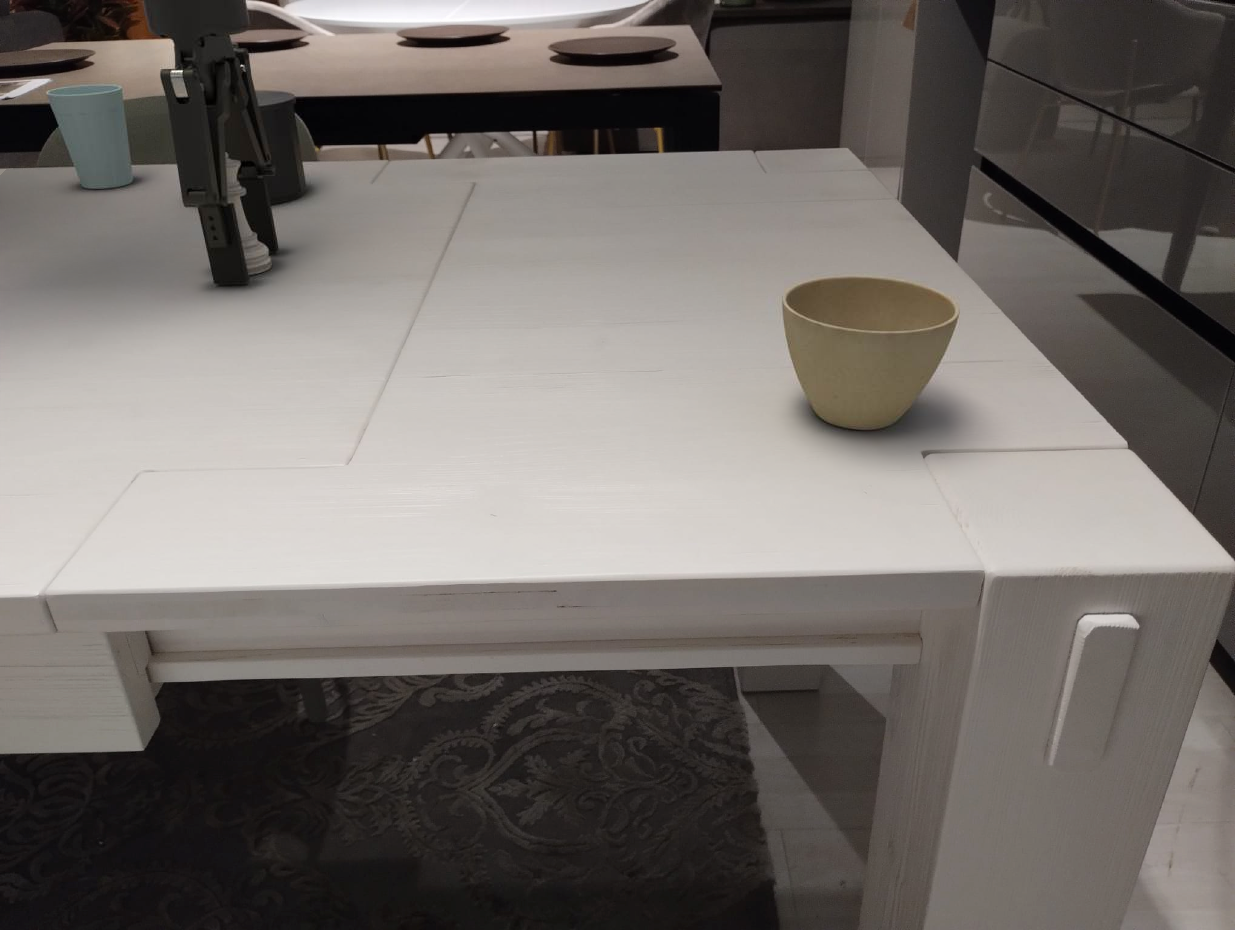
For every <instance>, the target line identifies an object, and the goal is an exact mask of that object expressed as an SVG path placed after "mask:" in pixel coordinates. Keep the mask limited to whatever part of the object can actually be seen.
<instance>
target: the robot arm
mask: <svg viewBox="0 0 1235 930" xmlns="http://www.w3.org/2000/svg"><path fill="white" fill-rule="evenodd" d="M141 1H142V6H143V10H144V15H145V19H146V23H147V28H148V31H149V33H150V34H151V35H153V36H154V37H158V38H163V39H165V38H169V39H170V40H172V42H173V52H174V68H161V69H160V72H159V78H160V82H161V85H162V89H163V93H164V95H165V99H166V102H167V108H168V115H169V122H170V128H171V135H172V141H173V142H172V143H173V147H174V154H175V161H176V167H177V168H176V169H177V174H178V180H179V187H180V195H181V199H182V204H183V207H185V208H197V212H198V216H199V221H200V224H201V231H202V234H203V238H204V239H203V240H204V244H205V249H206V252H207V257H208V262H209V265H210V270H211V276H212V280H213V284H214V285H233V284H237V285H238V284H248V283H249V282H250V277H249V276H250V275H248V271H247V266H246V261H245V256H244V251H243V246H242V241H241V236H240V231H239V226H238V221H237V216H236V212H235V207H234V203H228V193H227V174H226V155H225V146H226V149H227V151H228V154H229V157H230V159H231V160H238V161H240V163H241V165H240V167H239V169H238V172H237V176H242V178H241V179H237V181H239V183H240V184H239V185H240V186H241V187H244V188H245V189H246V194H245V195H243V196H240V200H241V204H242V208H243V211H244V214H245V217H246V220H247V223H248V225H249V227H250V229H251V231H252V232H255V233H256V234H257V240H258V241H259V242H261V243H263V244H264V245H265V246H266V247H267V248H268V250H269V253H277V252H279V251H280V248H279V242H278V237H277V236H278V235H277V232H276V227H275V220H274V216H273V210H272V205H271V204H270V198H269V193H268V188H267V182H266V178H263V177H262V176H274V175H275V166H274V165H266V164H270V163H271V154H270V151H269V147H268V143H267V138H266V134H265V130H264V126H263V122H262V118H261V113H260V109H259V105H258V101H257V97H256V93H255V90H256V89H255V85H254V81H253V76H252V69H251V60H250V53H249V51H248V49H247V48H238V49H234V47H233V44H232V42H233V41H232V38H231V36H232V35H233V36H234V35H239V34H244V33H245V32H247V31H248V30H249V29H250V26H251V22H250V16H249V11H248V5H247V0H141ZM203 187H204V188H203Z"/></svg>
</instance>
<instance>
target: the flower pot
mask: <svg viewBox="0 0 1235 930" xmlns="http://www.w3.org/2000/svg"><path fill="white" fill-rule="evenodd" d="M781 307H782V308H781V309H782V319H783V328H784V333H785V339H786V344H787V349H788V352H789V356H790V360H791V363H792V366H793V370H794V372H795V374H796V377H797V380H798V382H799V384H800V387H801V388H802V390H803V392H804V394H805V396H806V399H807V400H808V402H809V404H810V405H811V407H812V409H813V411H814V413H815V414H816V415H817V416H818V418H820V419H822V420H823V421H825V422H826V423H829V424H831V425H834V426H836V427H840V428H844V429H849V430H856V431H857V430H858V431H859V430H861V431H871V430H873V431H874V430H880V429H885V428H888V427H889V426H891V425H893V424H895V423H896V422H897V421H898V420H899V419H900V418H901V417H902V416H904V414H905V413H906V412H907V411H908V410H909V409H910V408H911V406H912V405H913V404H914V403H915V402H916V401H917V399H918V398H919V397H920V395H921V394H922V392H923V391H924V390H925V388H926V387H927V385H928V384H929V382H930V381H931V380H932V378H933V377H934V375H935V373H936V371H937V370H938V367H939V366H940V365H941V362H942V360H943V358H944V356H945V354H946V352H947V350H948V347H949V346H950V343H951V340H952V338H953V335H954V332H955V330H956V326H957V324H958V320H959V317H960V312H961V309H960V306H959V305H958V303H957V302H956V301H955V300H954V299H953V298H952V297H950V295H948V294H946V293H944V292H943V291H941V290H939V289H936V288H933V287H931V286H928V285H925V284H922V283H918V282H914V281H911V280H905V279H901V278H895V277H887V276H878V275H877V276H876V275H855V274H854V275H849V274H848V275H835V276H833V275H832V276H823V277H816V278H812V279H808V280H804V281H801V282H798V283H796V284H794V285H791V286H790V287H788V288H787V289H786V290H785V291H784V293H783V294H782V296H781Z"/></svg>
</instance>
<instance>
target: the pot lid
mask: <svg viewBox="0 0 1235 930" xmlns="http://www.w3.org/2000/svg"><path fill="white" fill-rule="evenodd" d="M232 44H233V47H234V49H239V45H238V42H237V41H236V42H235V41H232ZM255 93H256V97H257V101H258V105H259V109H260V112H265V111H272V110H277V109H281V108H285V107H288V106H291V105H293V106H294V105H295V104H296V103H297V100H296V99H297V98H296V95H295V94H294V93H291V92H288V91H281V90H280V91H279V90H262V89H261V90H260V89H259V90H258V89H257V90H256V89H255Z"/></svg>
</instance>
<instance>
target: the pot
mask: <svg viewBox="0 0 1235 930" xmlns="http://www.w3.org/2000/svg"><path fill="white" fill-rule="evenodd" d="M260 113H261V118H262V122H263V126H264V130H265V134H266V138H267V143H268V147H269V151H270V154H271V163H270V164H266V165H274V166H275V175H274V176H262V177H263V178H266V182H267V188H268V193H269V198H270V204H271V206H274V205H278V204H283V203H287V202H291V201H294V200H297V199H299V198H301V197H302V196H304V195H305V194H306V192H307V183H306V176H305V175H306V174H305V169H304V163H303V157H302V150H301V143H300V137H299V131H298V124H297V119H296V113H295V107H294V104H293V105H291V106H288V107H285V108H281V109H277V110H272V111H265V112H260ZM225 152H226V153H228V151H227V149H226V146H225ZM228 158H229V159H230V157H229V154H228ZM236 176H237V175H236ZM241 178H242V176H237V179H241ZM203 188H204V187H203Z"/></svg>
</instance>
